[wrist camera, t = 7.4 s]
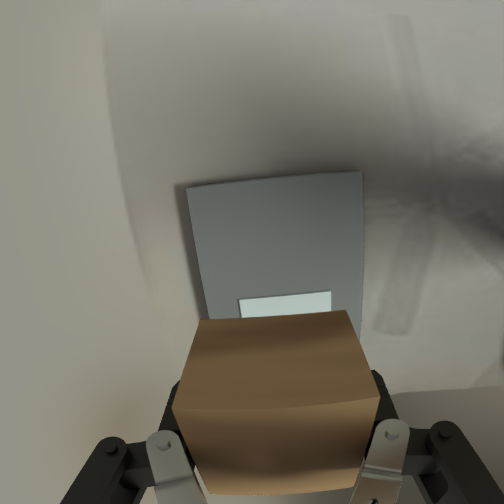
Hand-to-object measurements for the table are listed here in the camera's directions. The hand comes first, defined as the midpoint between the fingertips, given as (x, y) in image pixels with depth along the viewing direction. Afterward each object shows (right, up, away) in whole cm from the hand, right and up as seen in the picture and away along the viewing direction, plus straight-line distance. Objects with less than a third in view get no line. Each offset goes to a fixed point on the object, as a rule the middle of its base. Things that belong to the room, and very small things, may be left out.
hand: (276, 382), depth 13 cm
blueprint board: (+2, +2, +15) cm, 16 cm away
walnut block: (0, 0, +1) cm, 1 cm away
